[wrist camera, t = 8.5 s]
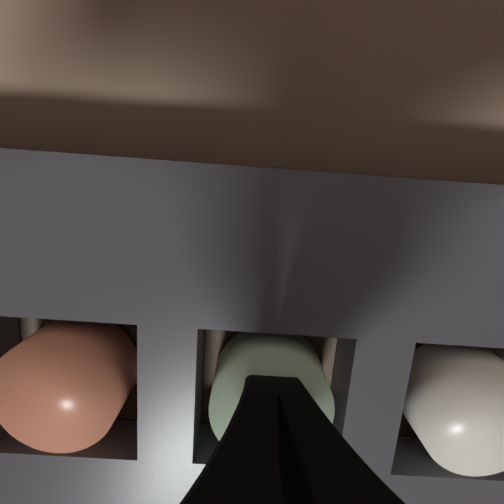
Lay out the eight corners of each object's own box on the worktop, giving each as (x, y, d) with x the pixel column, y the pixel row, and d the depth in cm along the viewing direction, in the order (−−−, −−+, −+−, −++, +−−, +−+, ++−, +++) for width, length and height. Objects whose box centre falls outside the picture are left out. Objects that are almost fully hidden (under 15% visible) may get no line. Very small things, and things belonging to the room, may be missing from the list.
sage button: (326, 328, 10) (342, 358, 8) (314, 422, 10) (326, 468, 9) (218, 321, 10) (211, 350, 8) (213, 416, 10) (206, 461, 9)
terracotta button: (139, 316, 10) (115, 344, 8) (139, 412, 10) (117, 456, 9) (28, 309, 10) (-19, 336, 8) (36, 405, 10) (-6, 449, 9)
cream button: (510, 340, 10) (562, 372, 8) (486, 432, 10) (530, 479, 9) (403, 333, 10) (435, 364, 8) (386, 426, 10) (412, 473, 9)
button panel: (648, 198, 9) (726, 201, 8) (537, 542, 12) (579, 594, 10) (-93, 143, 9) (-162, 136, 7) (-40, 511, 11) (-83, 562, 10)
